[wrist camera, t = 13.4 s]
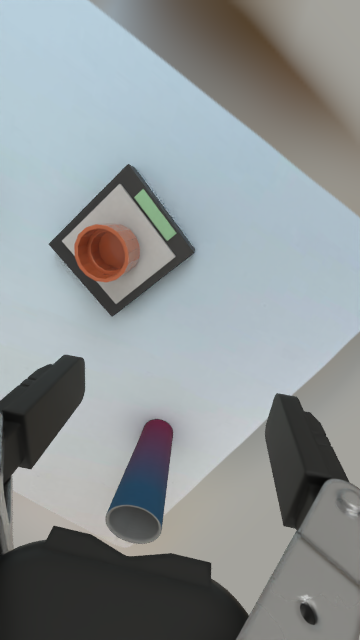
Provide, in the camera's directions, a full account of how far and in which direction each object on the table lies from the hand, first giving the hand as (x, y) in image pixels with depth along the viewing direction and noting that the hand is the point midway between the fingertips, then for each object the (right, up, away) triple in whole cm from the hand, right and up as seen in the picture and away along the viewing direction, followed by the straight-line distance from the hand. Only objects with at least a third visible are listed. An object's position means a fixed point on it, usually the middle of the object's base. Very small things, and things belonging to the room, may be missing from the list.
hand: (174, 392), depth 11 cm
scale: (-7, +13, +24) cm, 28 cm away
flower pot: (-7, +12, +21) cm, 25 cm away
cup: (-3, -16, +34) cm, 38 cm away
